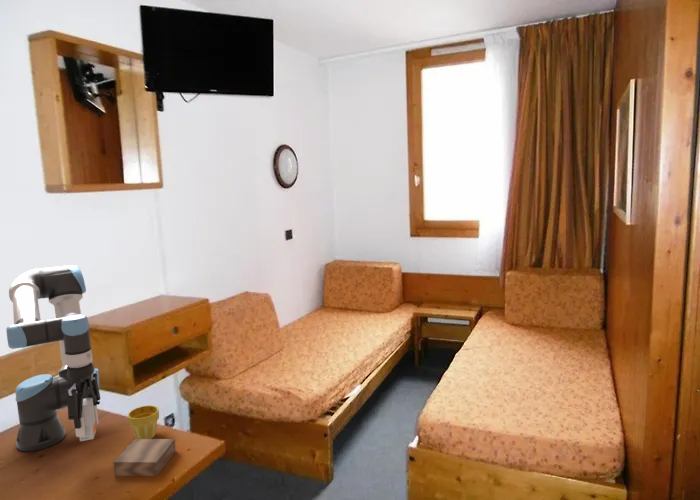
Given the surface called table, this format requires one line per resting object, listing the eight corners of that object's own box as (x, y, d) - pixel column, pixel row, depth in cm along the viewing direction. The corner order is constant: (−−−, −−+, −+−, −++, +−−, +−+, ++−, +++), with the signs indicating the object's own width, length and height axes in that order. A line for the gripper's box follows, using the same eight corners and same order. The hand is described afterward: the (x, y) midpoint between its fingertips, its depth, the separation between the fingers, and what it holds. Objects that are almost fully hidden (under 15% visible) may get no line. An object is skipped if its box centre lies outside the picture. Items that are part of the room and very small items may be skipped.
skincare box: (94, 439, 161) (90, 404, 159) (79, 441, 160) (75, 407, 158) (96, 430, 167) (92, 396, 165) (82, 432, 165) (78, 399, 163)
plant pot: (150, 445, 175) (147, 419, 174) (124, 443, 177) (121, 417, 176) (166, 430, 185) (164, 405, 184) (141, 428, 188) (139, 404, 186)
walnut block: (114, 476, 158) (113, 462, 157) (136, 452, 172) (135, 438, 171) (157, 476, 157) (156, 462, 156) (175, 452, 171) (174, 439, 170)
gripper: (72, 376, 149) (81, 446, 153) (107, 352, 169) (114, 415, 172) (48, 376, 149) (57, 446, 153) (85, 352, 169) (93, 415, 173)
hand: (87, 429), depth 163 cm, fingers closed on skincare box, 7 cm apart
